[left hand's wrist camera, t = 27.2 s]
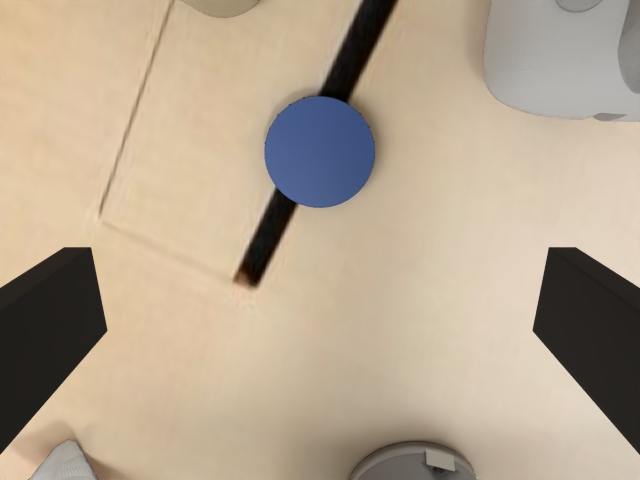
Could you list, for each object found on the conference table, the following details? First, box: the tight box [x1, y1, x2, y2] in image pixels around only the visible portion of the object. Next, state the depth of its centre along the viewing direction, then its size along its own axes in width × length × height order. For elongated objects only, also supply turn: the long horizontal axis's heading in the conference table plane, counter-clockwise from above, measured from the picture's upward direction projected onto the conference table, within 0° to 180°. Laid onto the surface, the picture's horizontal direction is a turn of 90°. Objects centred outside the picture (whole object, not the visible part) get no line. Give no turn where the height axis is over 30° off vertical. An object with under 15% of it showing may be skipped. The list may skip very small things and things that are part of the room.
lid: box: [265, 95, 375, 208], centre depth 36 cm, size 9×9×2 cm
